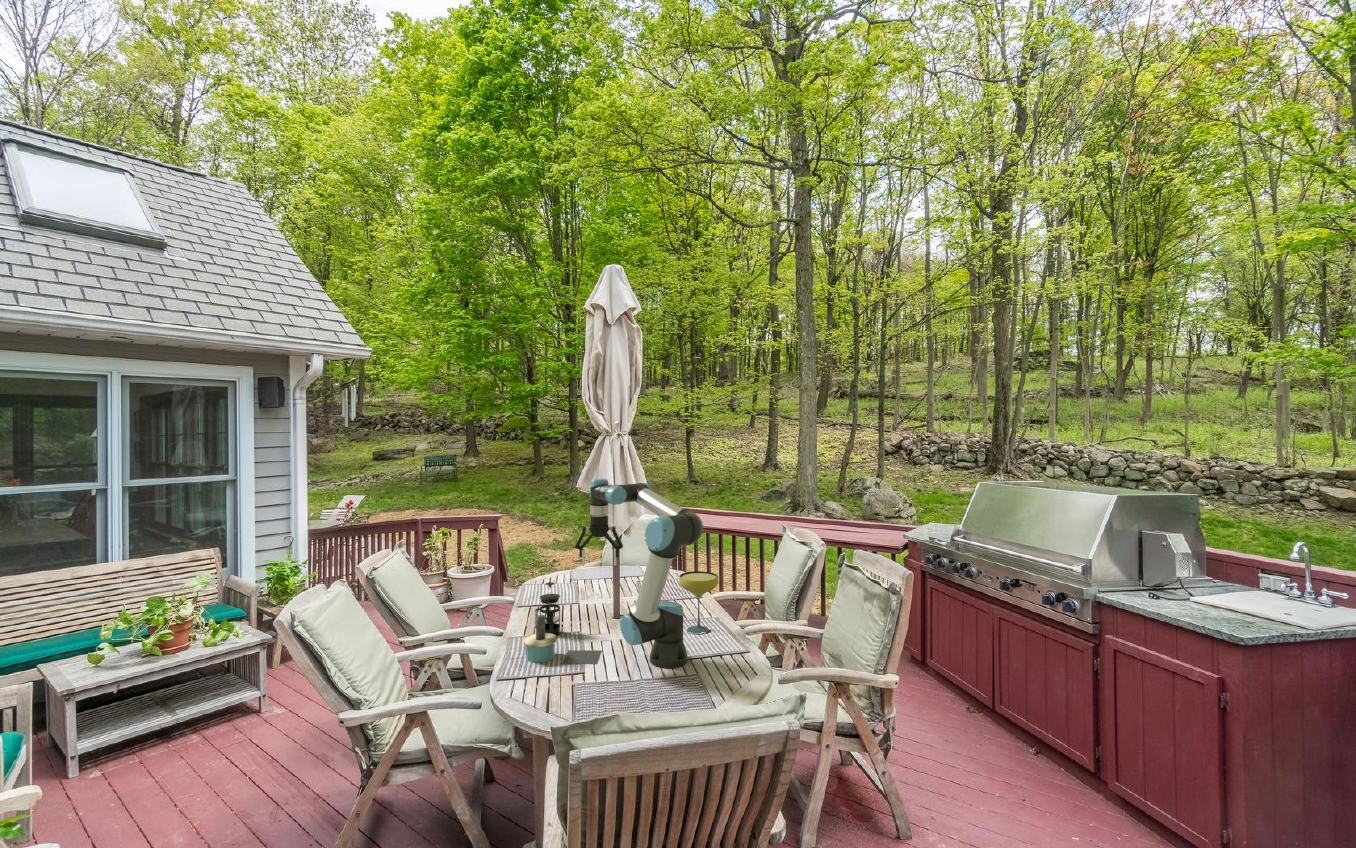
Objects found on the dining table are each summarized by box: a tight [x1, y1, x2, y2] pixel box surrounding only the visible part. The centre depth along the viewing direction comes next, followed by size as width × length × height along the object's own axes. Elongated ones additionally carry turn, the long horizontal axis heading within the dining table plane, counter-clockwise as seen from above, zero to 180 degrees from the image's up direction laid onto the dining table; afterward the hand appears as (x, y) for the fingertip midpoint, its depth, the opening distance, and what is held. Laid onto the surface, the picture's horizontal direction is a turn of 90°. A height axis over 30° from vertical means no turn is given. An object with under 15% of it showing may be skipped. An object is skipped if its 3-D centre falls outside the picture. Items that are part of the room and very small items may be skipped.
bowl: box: [525, 642, 556, 664], centre depth 236 cm, size 11×11×7 cm
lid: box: [523, 614, 558, 647], centre depth 236 cm, size 13×13×10 cm
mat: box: [561, 649, 602, 665], centre depth 236 cm, size 14×14×1 cm
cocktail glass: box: [678, 570, 719, 634], centre depth 268 cm, size 18×18×25 cm
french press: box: [534, 581, 561, 636], centre depth 264 cm, size 12×9×23 cm
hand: (599, 565), depth 249 cm, fingers open, 13 cm apart
